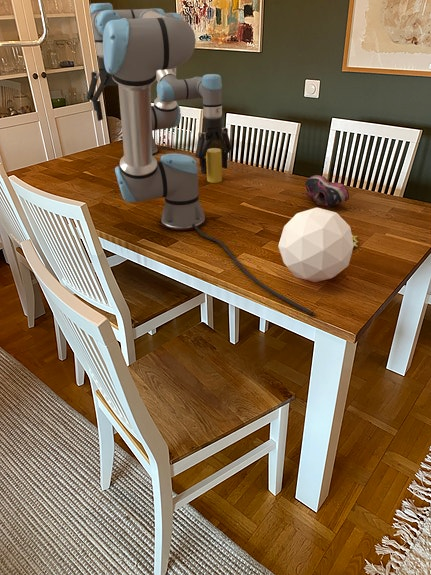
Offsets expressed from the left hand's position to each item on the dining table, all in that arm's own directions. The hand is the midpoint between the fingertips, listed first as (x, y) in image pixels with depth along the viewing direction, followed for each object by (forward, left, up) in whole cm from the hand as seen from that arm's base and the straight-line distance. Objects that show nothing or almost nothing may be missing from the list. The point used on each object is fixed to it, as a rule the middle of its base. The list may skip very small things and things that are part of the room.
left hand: (214, 170), depth 190 cm
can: (0, 0, -4) cm, 4 cm away
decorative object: (+70, -9, -4) cm, 70 cm away
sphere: (+81, -30, -4) cm, 87 cm away
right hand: (-10, -37, +25) cm, 46 cm away
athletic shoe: (+47, +14, -4) cm, 50 cm away
